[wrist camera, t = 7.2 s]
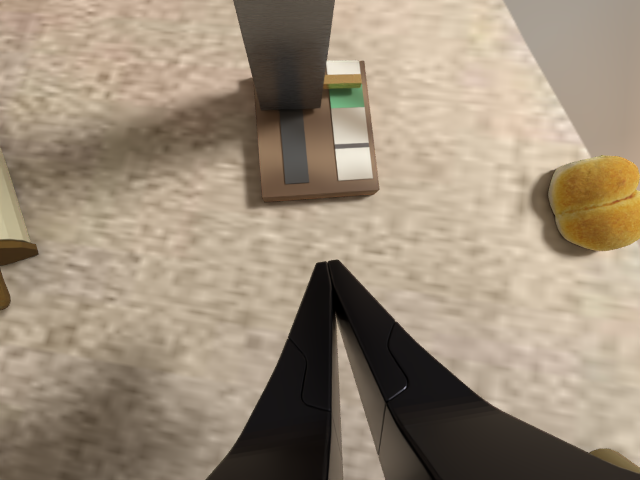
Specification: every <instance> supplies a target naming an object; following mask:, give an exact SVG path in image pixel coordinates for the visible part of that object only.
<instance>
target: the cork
mask: <svg viewBox="0 0 640 480" xmlns="http://www.w3.org/2000/svg"><path fill="white" fill-rule="evenodd" d="M590 454H592V455H594V456H596V457H598V458H600V459H602V460H605V461H607V462H609V463H612V464H614V465H616V466H619V467H622V468H625V469H628V470H631V471H634V472H637V473H640V468H639V467H638V466H637V465H635V464H634V463H632V462H631V461H630V460H628V459H627V458H625V457H624V456H623V455H621V454H620V453H618V452H616V451H613V450H611V449H597V450H595V451H592V452H590Z"/></svg>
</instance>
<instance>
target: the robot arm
mask: <svg viewBox="0 0 640 480" xmlns="http://www.w3.org/2000/svg"><path fill="white" fill-rule="evenodd" d="M335 314H336V315H335ZM336 318H337V322H338V326H339V329H340V332H341V336H342V339H343V342H344V345H345V349H346V352H347V355H348V358H349V362H350V365H351V368H352V372H353V375H354V378H355V381H356V385H357V388H358V391H359V395H360V398H361V401H362V404H363V408H364V411H365V414H366V418H367V421H368V424H369V427H370V431H371V434H372V437H373V441H374V444H375V447H376V450H377V454H378V455H379V460H380V464H381V467H382V470H383V473H384V477H385V480H640V473H637V472H634V471H631V470H628V469H625V468H622V467H619V466H616V465H614V464H612V463H609V462H607V461H605V460H602V459H600V458H598V457H596V456H594V455H592V454H590V453H588V452H586V451H584V450H582V449H580V448H578V447H576V446H573V445H571V444H569V443H567V442H565V441H563V440H561V439H559V438H557V437H555V436H553V435H551V434H549V433H547V432H545V431H542V430H540V429H538V428H536V427H534V426H532V425H530V424H528V423H526V422H524V421H522V420H520V419H518V418H516V417H513V416H511V415H509V414H507V413H505V412H503V411H501V410H500V409H498V408H496V407H494V406H493V405H491V404H490V403H488V402H487V401H485V400H484V399H482V398H481V397H480V396H478V395H477V394H476V393H475V392H473V391H472V390H471V389H470V388H469V387H467V386H466V385H465V384H464V383H463V382H462V381H461V380H459V379H458V378H457V377H456V376H455V375H454V374H452V373H451V372H450V371H449V370H448V369H447V368H445V367H444V366H443V365H442V364H441V363H440V362H438V361H437V360H436V359H435V358H434V357H433V356H432V355H430V354H429V353H428V352H427V351H426V350H425V349H424V348H423V347H422V346H420V345H419V344H418V343H417V342H416V341H415V340H414V339H413V338H412V337H411V336H410V335H409V334H408V333H407V332H406V331H405V330H404V329H403V328H402V327H401V326H400V325H399V323H398V322H395V319H394V318H393V317H392V316H391V315H390V314H389V313H388V312H387V311H386V310H385V309H384V308H383V307H382V305H381V304H380V303H379V302H378V301H377V300H376V299H375V298H374V297H373V296H372V295H371V294H370V293H369V292H368V291H367V289H366V288H365V287H364V286H363V285H362V284H361V283H360V282H359V281H358V280H357V279H356V278H355V277H354V276H353V275H352V273H351V272H350V271H349V270H348V269H347V268H346V267H345V266H344V265H343V264H342V263H341V262H340V261H339V260H331V261H328V263H327V262H326V261H324V262H318V263H316V265H315V267H314V270H313V273H312V275H311V278H310V281H309V283H308V286H307V288H306V291H305V294H304V296H303V299H302V302H301V304H300V307H299V309H298V312H297V315H296V317H295V320H294V323H293V325H292V328H291V330H290V333H289V336H288V339H287V341H286V343H285V346H284V348H283V351H282V353H281V356H280V358H279V360H278V363H277V365H276V367H275V369H274V371H273V373H272V375H271V377H270V379H269V382H268V384H267V385H266V387H265V389H264V391H263V393H262V395H261V397H260V399H259V401H258V403H257V405H256V406H255V408H254V410H253V412H252V414H251V416H250V418H249V420H248V422H247V424H246V426H245V427H244V429H243V431H242V433H241V435H240V436H239V438H238V440H237V441H236V443H235V444H234V446H233V447H232V449H231V450H230V451H229V453H228V454H227V455H226V457H225V458H224V459H223V460H222V461H221V463H220V464H219V465H218V466H217V467H216V468H215V469H214V471H213V472H212V473H211V474H210V475H209V476H208V477H207V479H206V480H343V464H342V440H341V417H340V394H339V372H338V349H337V326H336Z"/></svg>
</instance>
